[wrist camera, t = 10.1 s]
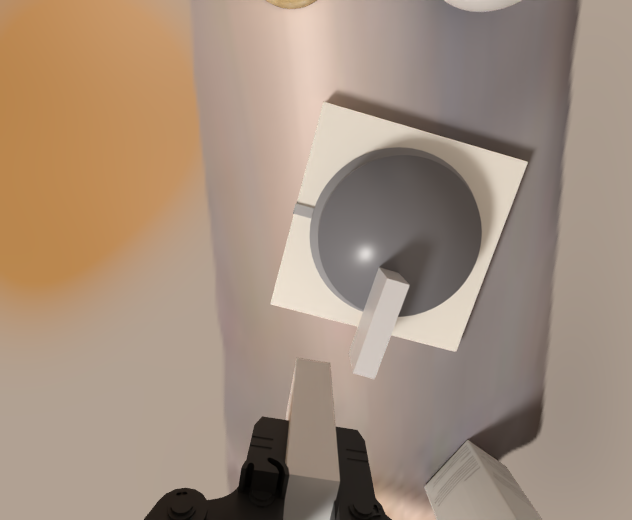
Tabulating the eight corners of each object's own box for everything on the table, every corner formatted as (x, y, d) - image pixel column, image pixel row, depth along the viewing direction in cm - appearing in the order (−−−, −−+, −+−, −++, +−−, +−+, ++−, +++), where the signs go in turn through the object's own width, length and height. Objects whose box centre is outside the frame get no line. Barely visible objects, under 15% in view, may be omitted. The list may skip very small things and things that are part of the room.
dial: (345, 134, 35) (352, 126, 29) (497, 184, 36) (532, 185, 30) (286, 326, 39) (281, 353, 33) (424, 365, 40) (443, 398, 34)
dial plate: (321, 104, 36) (322, 100, 35) (519, 162, 38) (529, 161, 36) (270, 301, 40) (268, 306, 39) (450, 347, 42) (456, 354, 40)
